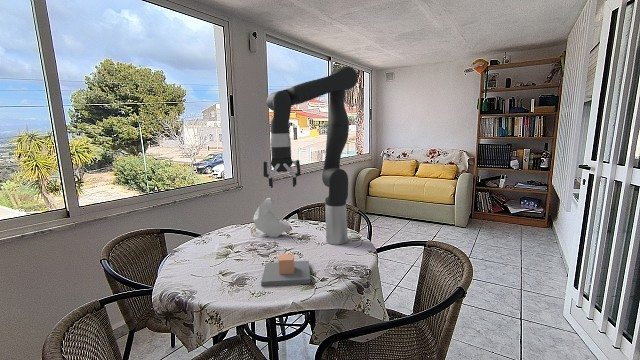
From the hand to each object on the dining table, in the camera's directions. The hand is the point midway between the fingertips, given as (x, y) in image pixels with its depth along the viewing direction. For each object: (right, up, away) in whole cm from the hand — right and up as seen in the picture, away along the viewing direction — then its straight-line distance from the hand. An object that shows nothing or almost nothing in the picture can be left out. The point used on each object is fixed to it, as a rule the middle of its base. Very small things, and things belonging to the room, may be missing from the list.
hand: (282, 187), depth 117 cm
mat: (+3, -31, -12) cm, 33 cm away
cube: (+3, -29, -12) cm, 32 cm away
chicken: (-9, -24, +28) cm, 38 cm away
